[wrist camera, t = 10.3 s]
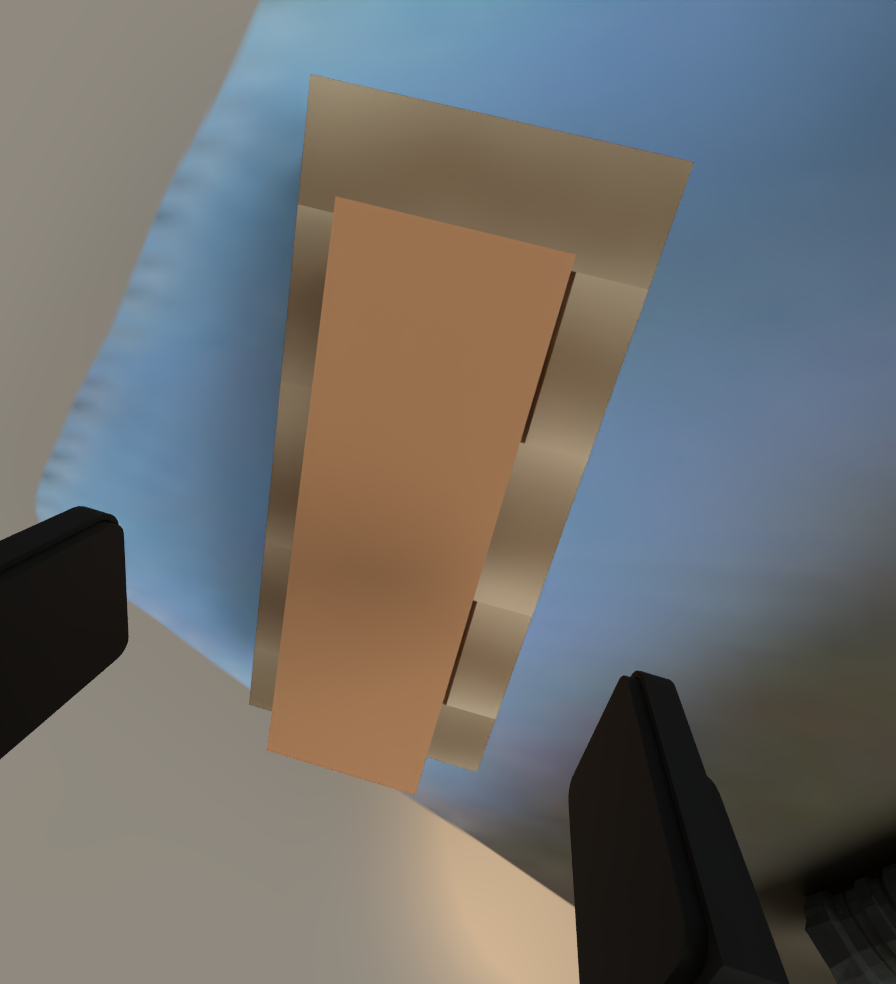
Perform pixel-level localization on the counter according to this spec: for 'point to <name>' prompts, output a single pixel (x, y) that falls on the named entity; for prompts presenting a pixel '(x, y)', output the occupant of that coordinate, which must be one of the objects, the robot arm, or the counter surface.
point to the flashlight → (857, 930)
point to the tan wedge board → (403, 477)
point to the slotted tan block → (567, 366)
